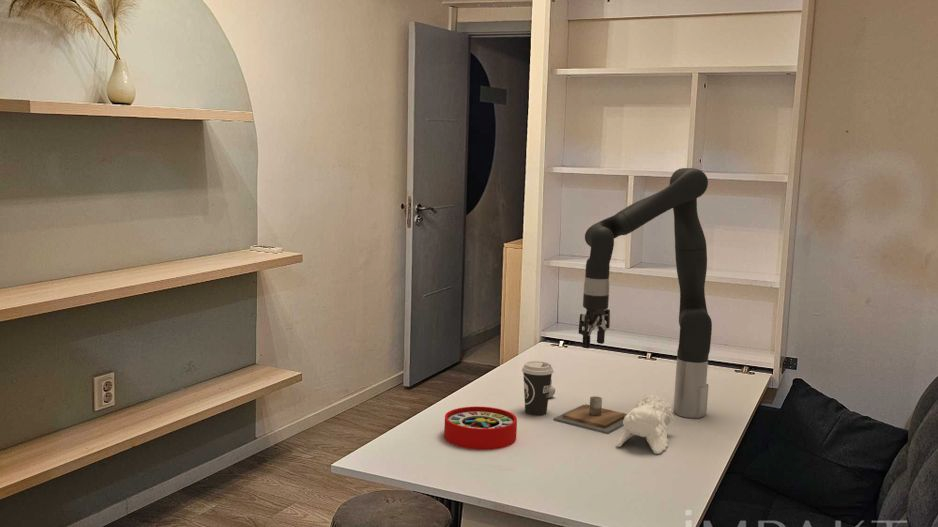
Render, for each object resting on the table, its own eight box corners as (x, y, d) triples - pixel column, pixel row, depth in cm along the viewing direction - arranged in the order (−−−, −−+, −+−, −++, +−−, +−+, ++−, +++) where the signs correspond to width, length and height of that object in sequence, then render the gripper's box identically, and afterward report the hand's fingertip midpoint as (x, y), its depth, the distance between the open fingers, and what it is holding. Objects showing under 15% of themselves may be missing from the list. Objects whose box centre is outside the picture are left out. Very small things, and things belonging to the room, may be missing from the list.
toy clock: (503, 404, 252) (527, 427, 233) (503, 424, 253) (526, 447, 234) (436, 408, 247) (455, 431, 228) (436, 428, 247) (454, 453, 228)
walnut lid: (626, 417, 260) (628, 397, 259) (604, 428, 249) (606, 408, 248) (585, 407, 269) (586, 388, 268) (562, 418, 257) (563, 398, 257)
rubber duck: (535, 398, 278) (537, 374, 277) (540, 393, 284) (541, 369, 283) (552, 400, 276) (553, 376, 275) (556, 395, 283) (558, 371, 282)
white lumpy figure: (681, 400, 246) (665, 411, 228) (676, 443, 247) (659, 458, 229) (636, 391, 252) (616, 402, 234) (631, 433, 252) (611, 447, 234)
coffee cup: (540, 419, 257) (542, 370, 255) (513, 412, 263) (515, 364, 261) (557, 412, 265) (559, 364, 263) (531, 405, 271) (533, 358, 269)
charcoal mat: (635, 418, 261) (636, 417, 261) (607, 434, 246) (607, 431, 246) (583, 406, 271) (583, 404, 271) (553, 420, 257) (553, 418, 257)
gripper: (595, 297, 251) (592, 351, 253) (619, 291, 262) (615, 343, 264) (572, 293, 255) (570, 347, 258) (597, 288, 267) (594, 339, 269)
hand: (593, 345), depth 261 cm, fingers open, 8 cm apart
